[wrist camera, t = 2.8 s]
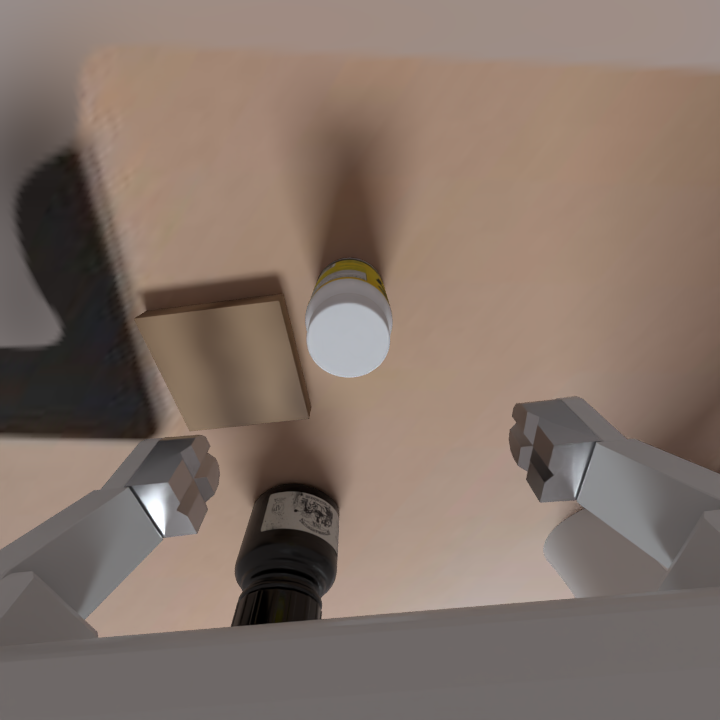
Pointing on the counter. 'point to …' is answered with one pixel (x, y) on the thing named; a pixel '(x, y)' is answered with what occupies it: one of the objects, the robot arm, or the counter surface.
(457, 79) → the counter surface
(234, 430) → the counter surface
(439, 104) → the counter surface
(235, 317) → the tan slab
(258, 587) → the ink bottle
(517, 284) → the counter surface
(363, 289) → the supplement bottle
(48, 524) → the robot arm
